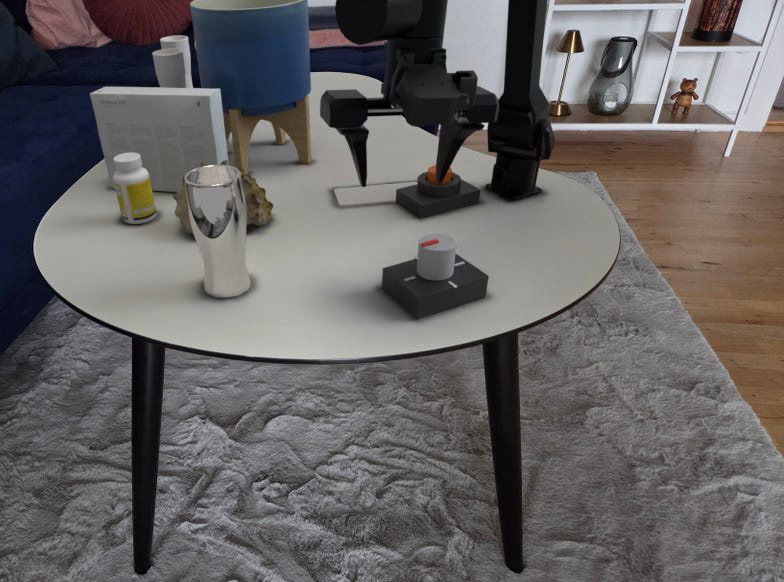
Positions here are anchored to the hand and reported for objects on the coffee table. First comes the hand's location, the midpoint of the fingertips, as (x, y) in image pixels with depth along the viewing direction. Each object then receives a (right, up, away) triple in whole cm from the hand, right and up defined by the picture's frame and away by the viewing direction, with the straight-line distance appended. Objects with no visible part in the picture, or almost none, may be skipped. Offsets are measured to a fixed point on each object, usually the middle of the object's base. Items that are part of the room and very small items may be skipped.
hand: (401, 184), depth 74 cm
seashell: (-23, 0, +23) cm, 33 cm away
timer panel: (+5, -12, +5) cm, 14 cm away
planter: (-19, +17, +46) cm, 53 cm away
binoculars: (-35, +24, +55) cm, 70 cm away
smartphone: (+1, +6, +30) cm, 31 cm away
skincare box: (-34, +10, +37) cm, 51 cm away
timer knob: (+5, -10, +3) cm, 11 cm away
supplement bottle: (-37, +2, +27) cm, 46 cm away
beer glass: (-21, -11, +9) cm, 26 cm away
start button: (+10, +7, +24) cm, 27 cm away
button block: (+10, +4, +26) cm, 28 cm away
